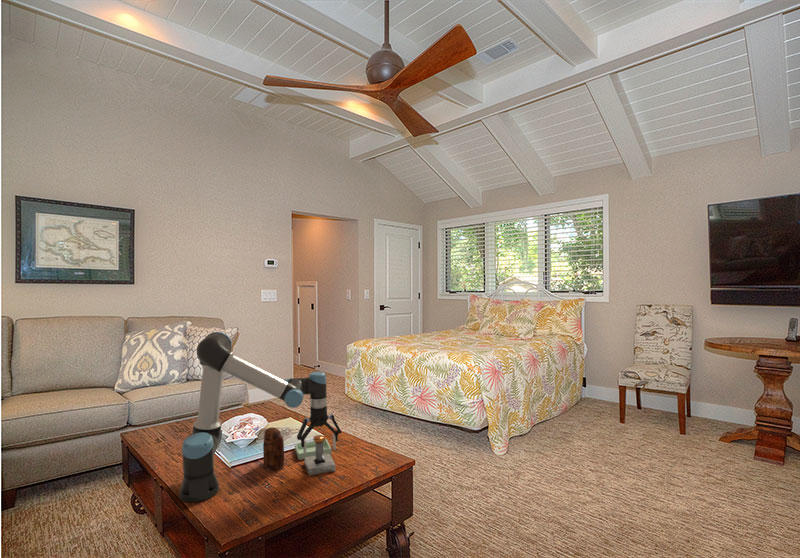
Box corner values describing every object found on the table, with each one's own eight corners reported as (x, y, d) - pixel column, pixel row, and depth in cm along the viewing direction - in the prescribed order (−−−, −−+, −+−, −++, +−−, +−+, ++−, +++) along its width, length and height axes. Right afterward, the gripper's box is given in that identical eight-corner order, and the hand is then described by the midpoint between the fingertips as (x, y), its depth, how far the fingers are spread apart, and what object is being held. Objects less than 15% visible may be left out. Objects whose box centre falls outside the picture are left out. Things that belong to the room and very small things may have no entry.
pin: (315, 470, 214) (314, 440, 212) (313, 465, 218) (312, 436, 217) (326, 468, 215) (325, 438, 214) (324, 463, 220) (323, 434, 219)
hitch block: (308, 475, 209) (308, 468, 209) (304, 463, 220) (304, 457, 220) (335, 470, 213) (335, 464, 213) (329, 459, 225) (329, 453, 224)
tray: (298, 459, 224) (298, 453, 224) (294, 449, 235) (294, 443, 235) (331, 454, 230) (331, 448, 230) (326, 444, 241) (326, 438, 241)
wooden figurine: (258, 466, 218) (257, 428, 216) (267, 460, 224) (266, 424, 222) (278, 471, 213) (277, 433, 211) (287, 465, 219) (286, 428, 217)
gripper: (292, 412, 207) (293, 459, 208) (347, 404, 216) (348, 449, 217) (289, 407, 214) (291, 452, 215) (343, 399, 223) (344, 443, 224)
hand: (319, 450), depth 216 cm, fingers open, 13 cm apart
